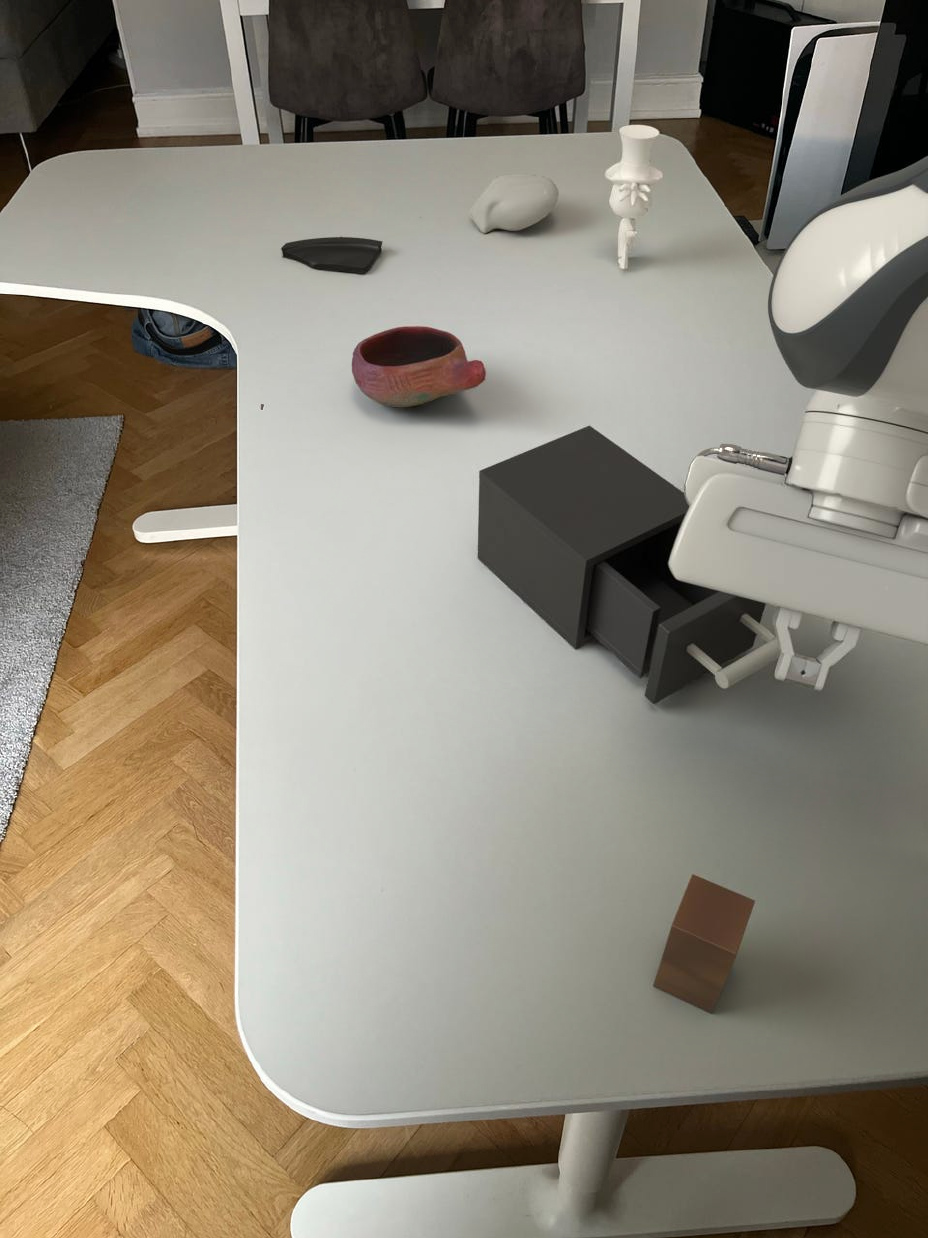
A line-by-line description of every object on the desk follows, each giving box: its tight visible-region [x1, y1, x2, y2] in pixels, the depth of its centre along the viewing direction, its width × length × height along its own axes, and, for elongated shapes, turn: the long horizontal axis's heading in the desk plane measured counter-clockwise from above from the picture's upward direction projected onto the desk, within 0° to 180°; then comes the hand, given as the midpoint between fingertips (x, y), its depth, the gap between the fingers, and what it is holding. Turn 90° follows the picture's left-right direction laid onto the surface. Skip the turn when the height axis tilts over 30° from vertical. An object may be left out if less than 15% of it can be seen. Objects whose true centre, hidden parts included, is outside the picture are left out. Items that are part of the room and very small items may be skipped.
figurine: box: [604, 124, 664, 270], centre depth 135 cm, size 10×8×18 cm
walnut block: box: [652, 873, 756, 1015], centre depth 63 cm, size 4×4×8 cm
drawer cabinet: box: [477, 425, 689, 650], centre depth 90 cm, size 15×13×10 cm
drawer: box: [585, 521, 781, 705], centre depth 83 cm, size 18×12×8 cm, turn 35°
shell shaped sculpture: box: [469, 173, 560, 234], centre depth 149 cm, size 13×13×6 cm
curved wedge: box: [280, 236, 383, 274], centre depth 142 cm, size 8×14×2 cm, turn 74°
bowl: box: [351, 325, 487, 408], centre depth 113 cm, size 16×13×8 cm
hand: (797, 683), depth 65 cm, fingers closed
